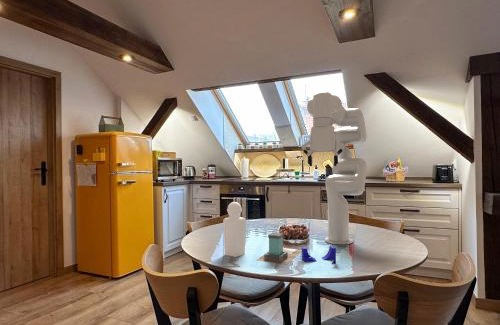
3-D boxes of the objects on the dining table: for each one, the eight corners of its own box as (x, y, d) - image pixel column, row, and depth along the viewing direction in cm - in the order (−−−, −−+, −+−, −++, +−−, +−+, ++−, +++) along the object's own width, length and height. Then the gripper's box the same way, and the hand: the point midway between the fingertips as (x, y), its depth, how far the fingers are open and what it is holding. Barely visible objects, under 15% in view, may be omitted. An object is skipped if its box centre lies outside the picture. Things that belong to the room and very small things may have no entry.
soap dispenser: (234, 254, 130) (233, 200, 130) (246, 257, 126) (246, 201, 126) (223, 258, 125) (222, 202, 125) (235, 261, 121) (235, 203, 121)
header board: (275, 250, 135) (275, 242, 135) (303, 254, 130) (303, 245, 130) (255, 264, 117) (255, 254, 117) (286, 268, 112) (286, 258, 112)
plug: (272, 256, 122) (272, 232, 122) (283, 257, 120) (283, 233, 120) (268, 259, 118) (268, 234, 118) (279, 260, 116) (279, 236, 116)
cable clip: (304, 266, 115) (304, 249, 115) (301, 262, 119) (301, 246, 119) (337, 265, 115) (337, 249, 115) (333, 262, 120) (333, 246, 120)
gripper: (345, 123, 129) (345, 166, 128) (302, 125, 135) (302, 166, 134) (344, 121, 122) (344, 165, 121) (299, 123, 127) (299, 166, 127)
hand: (322, 166), depth 128 cm, fingers open, 9 cm apart
